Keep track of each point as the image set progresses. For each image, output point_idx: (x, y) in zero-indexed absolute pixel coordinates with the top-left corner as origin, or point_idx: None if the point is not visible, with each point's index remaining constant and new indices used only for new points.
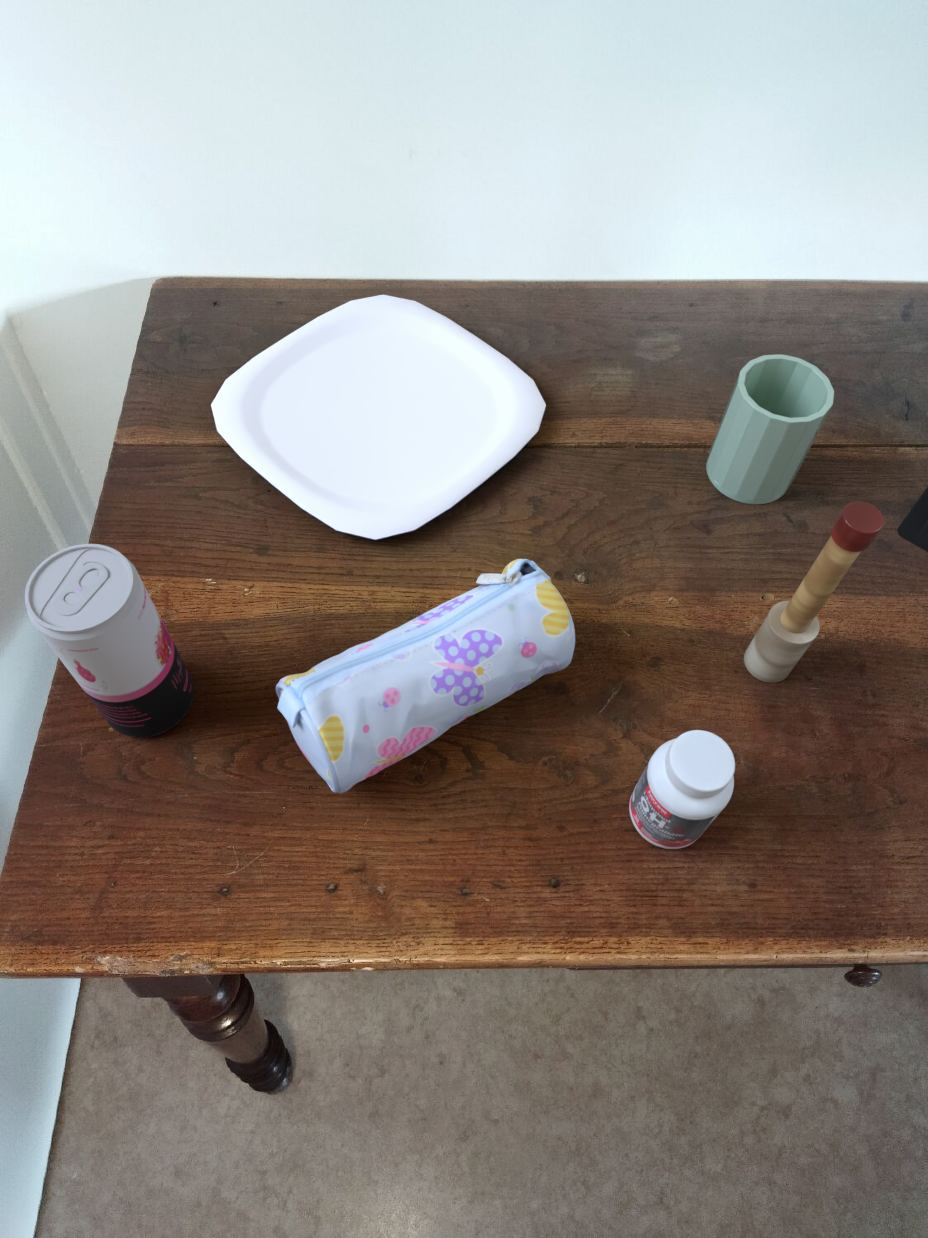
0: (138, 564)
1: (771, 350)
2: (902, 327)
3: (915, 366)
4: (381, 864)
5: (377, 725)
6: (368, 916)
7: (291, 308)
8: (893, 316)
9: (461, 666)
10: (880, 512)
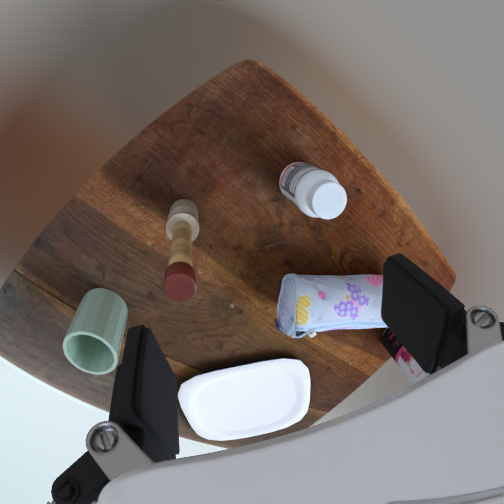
0: (360, 375)
1: (50, 351)
2: None
3: None
4: (393, 241)
5: None
6: (408, 228)
7: (240, 441)
8: None
9: (355, 303)
10: (164, 283)
